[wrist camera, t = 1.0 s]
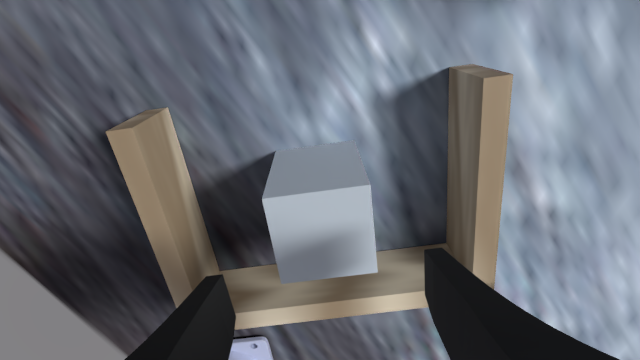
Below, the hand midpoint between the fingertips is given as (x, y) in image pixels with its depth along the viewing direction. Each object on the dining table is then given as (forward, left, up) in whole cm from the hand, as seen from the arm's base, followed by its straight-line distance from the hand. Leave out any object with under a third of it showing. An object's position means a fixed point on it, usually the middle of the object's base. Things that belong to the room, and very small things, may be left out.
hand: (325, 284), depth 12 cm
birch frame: (0, -1, -9) cm, 9 cm away
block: (0, 0, -9) cm, 9 cm away
